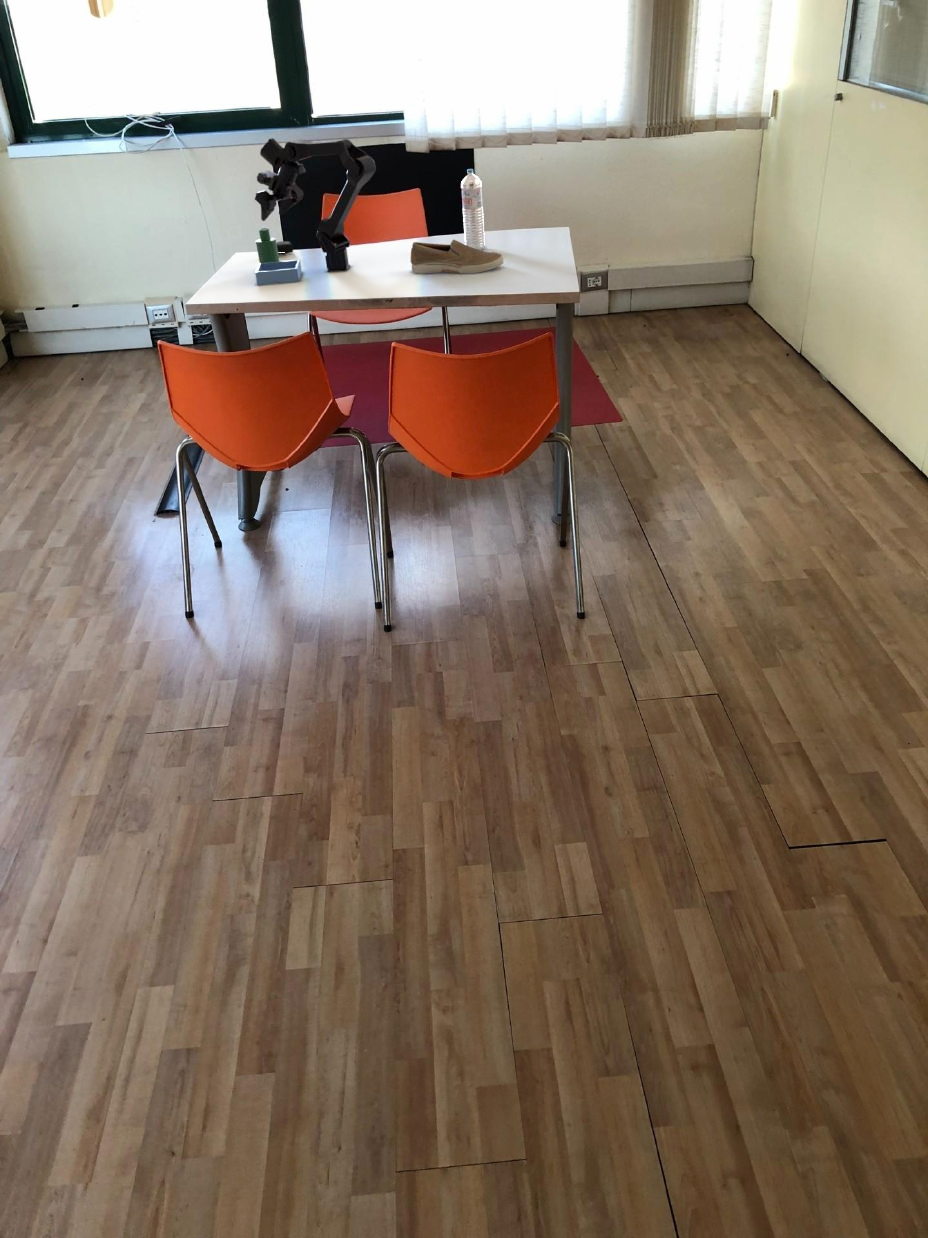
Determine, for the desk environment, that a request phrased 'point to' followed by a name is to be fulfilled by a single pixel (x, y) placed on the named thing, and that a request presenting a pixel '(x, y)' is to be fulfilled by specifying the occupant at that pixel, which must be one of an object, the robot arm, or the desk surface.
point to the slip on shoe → (452, 258)
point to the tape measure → (284, 247)
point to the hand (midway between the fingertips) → (271, 217)
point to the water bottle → (473, 211)
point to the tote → (278, 272)
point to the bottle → (267, 247)
